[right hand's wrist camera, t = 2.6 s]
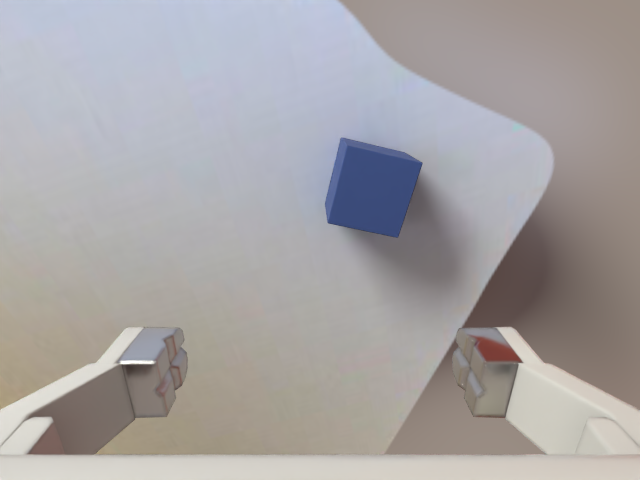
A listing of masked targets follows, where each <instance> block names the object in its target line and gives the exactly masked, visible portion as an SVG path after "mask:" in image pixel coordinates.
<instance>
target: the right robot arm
mask: <svg viewBox="0 0 640 480" xmlns="http://www.w3.org/2000/svg"><path fill="white" fill-rule="evenodd" d="M183 342H184V335H183V331H182V330H181V329H180V328H165V327H129V328H126V329H125V330H124V331H123V332H122V333H121V334H120V335H119V337H118V338H117V339H116V340H115V341H114V343H113V344H112V345H111V346H110V347H109V348H108V350H107V351H106V352H105V353H104V354H103V355H102V357H101V358H100V359H99V360H98V361H97V362H96V363H90V364H88V365H86V366H84V367H82V368H80V369H78V370H76V371H74V372H72V373H71V374H69V375H67V376H65V377H63V378H61V379H59V380H57V381H55V382H53V383H51V384H49V385H47V386H45V387H43V388H41V389H39V390H38V391H36V392H34V393H32V394H30V395H28V396H26V397H24V398H22V399H20V400H18V401H16V402H14V403H12V404H10V405H8V406H7V407H5V408H3V409H1V410H0V480H640V410H639V409H637V408H635V407H633V406H631V405H629V404H627V403H626V402H624V401H622V400H620V399H618V398H616V397H614V396H612V395H610V394H608V393H606V392H604V391H602V390H600V389H598V388H597V387H595V386H593V385H591V384H589V383H587V382H585V381H583V380H581V379H579V378H577V377H575V376H573V375H571V374H569V373H568V372H566V371H564V370H562V369H560V368H558V367H556V366H554V365H552V364H550V363H544V362H543V361H542V360H541V359H540V358H539V357H538V355H537V354H536V353H535V352H534V351H533V350H532V348H531V347H530V346H529V345H528V344H527V343H526V341H525V340H524V339H523V338H522V337H521V336H520V334H519V333H518V332H517V331H516V330H515V329H514V328H512V327H494V328H459V329H458V331H457V335H456V342H457V343H458V345H459V347H458V348H457V350H455V351H454V353H453V360H452V365H453V373H454V377H455V380H456V382H457V384H458V386H460V387H461V388H462V389H464V390H465V395H464V399H465V401H466V403H467V405H468V407H469V409H470V411H471V413H472V415H473V417H495V418H505V420H506V421H508V422H509V423H510V424H511V425H512V426H513V427H515V428H516V429H517V430H518V431H519V432H520V433H522V434H523V435H524V436H525V437H526V438H527V439H529V440H530V441H531V442H532V443H533V444H535V445H536V446H537V447H538V448H539V449H540V450H542V451H543V452H544V453H545V454H524V455H523V454H522V455H443V454H442V455H441V454H438V455H437V454H436V455H434V454H429V455H428V454H306V455H94V454H95V453H96V452H98V451H99V450H100V449H101V448H102V447H103V446H105V445H106V444H107V443H108V442H109V441H110V440H112V439H113V438H114V437H115V436H116V435H117V434H119V433H120V432H121V431H122V430H123V429H124V428H126V427H127V426H128V425H129V424H130V423H131V422H133V421H134V420H135V418H145V417H167V415H168V413H169V411H170V409H171V407H172V405H173V403H174V401H175V399H176V395H175V390H176V389H178V388H179V387H180V386H182V384H183V382H184V380H185V377H186V373H187V368H188V359H187V352H186V351H185V350H184V349H183V348H182V347H181V345H182V344H183Z"/></svg>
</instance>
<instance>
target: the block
mask: <svg viewBox="0 0 640 480" xmlns="http://www.w3.org/2000/svg"><path fill="white" fill-rule="evenodd" d="M421 166H422V162H420V161H418V160H416V159H415V158H413V157H411V156H410V155H408V154H406V153H404V152H400V151H396V150H392V149H388V148H383V147H379V146H375V145H371V144H366V143H362V142H358V141H354V140H349V139H345V138H341V140H340V144H339V148H338V152H337V156H336V160H335V165H334V169H333V173H332V177H331V181H330V185H329V189H328V194H327V198H326V202H325V207H326V214H327V221H328V223H329V224H334V225H339V226H344V227H348V228H353V229H358V230H363V231H368V232H372V233H377V234H382V235H387V236H392V237H396V238H398V236H399V233H400V230H401V227H402V224H403V221H404V218H405V215H406V212H407V209H408V206H409V203H410V200H411V197H412V194H413V191H414V188H415V185H416V181H417V178H418V175H419V172H420V169H421Z"/></svg>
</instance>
